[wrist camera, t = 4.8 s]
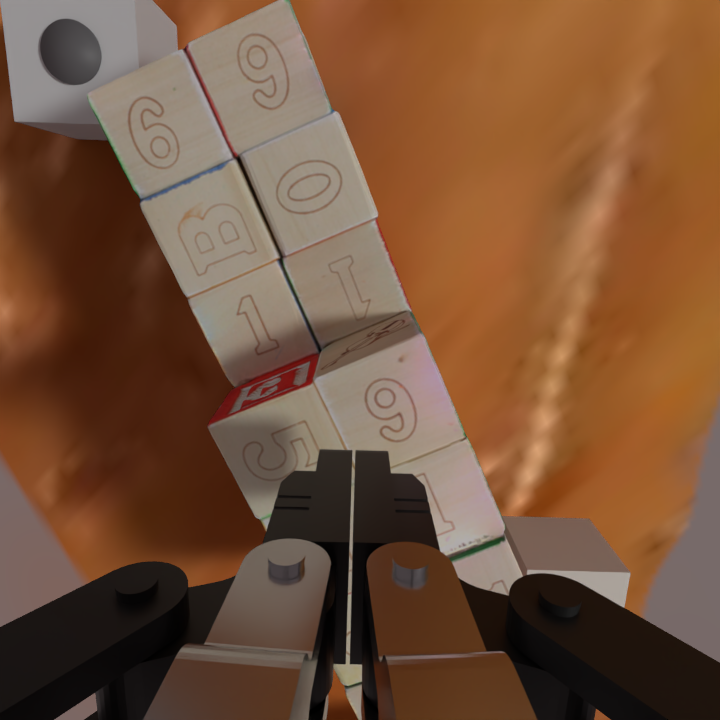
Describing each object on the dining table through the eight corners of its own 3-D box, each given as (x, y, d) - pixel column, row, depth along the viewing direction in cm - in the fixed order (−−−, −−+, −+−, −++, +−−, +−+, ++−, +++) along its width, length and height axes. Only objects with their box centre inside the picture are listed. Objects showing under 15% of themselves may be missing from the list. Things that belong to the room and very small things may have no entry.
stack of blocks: (186, 137, 24) (9, 54, 12) (319, 77, 23) (275, -76, 11) (371, 542, 29) (379, 774, 17) (484, 501, 28) (577, 711, 16)
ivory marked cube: (501, 515, 28) (528, 571, 24) (588, 518, 28) (631, 574, 24) (493, 590, 29) (517, 658, 25) (577, 593, 29) (616, 661, 25)
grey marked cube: (67, 22, 22) (-6, -27, 18) (177, 26, 22) (131, -22, 18) (77, 139, 24) (11, 120, 19) (182, 143, 24) (140, 125, 19)
